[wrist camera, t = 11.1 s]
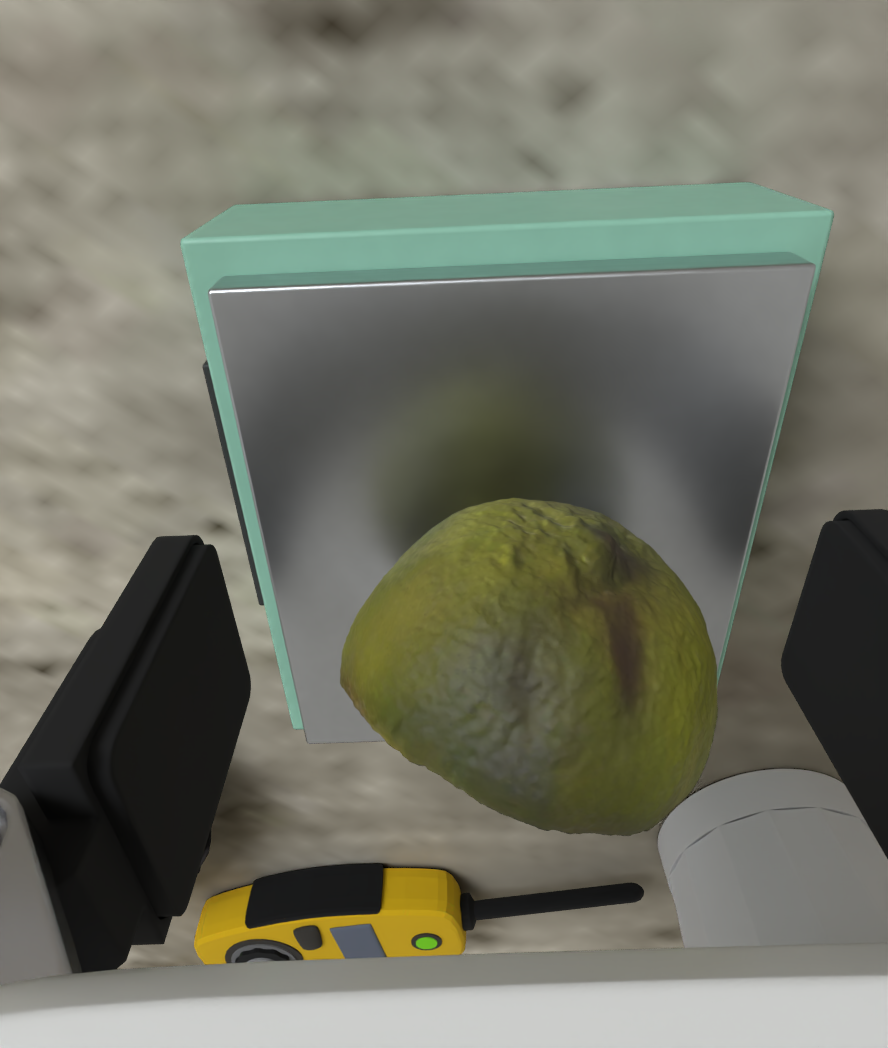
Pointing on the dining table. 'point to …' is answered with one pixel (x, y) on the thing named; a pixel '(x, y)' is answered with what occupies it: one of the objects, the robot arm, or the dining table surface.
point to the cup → (774, 863)
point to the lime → (540, 667)
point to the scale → (478, 239)
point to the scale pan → (500, 419)
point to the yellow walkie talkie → (365, 914)
